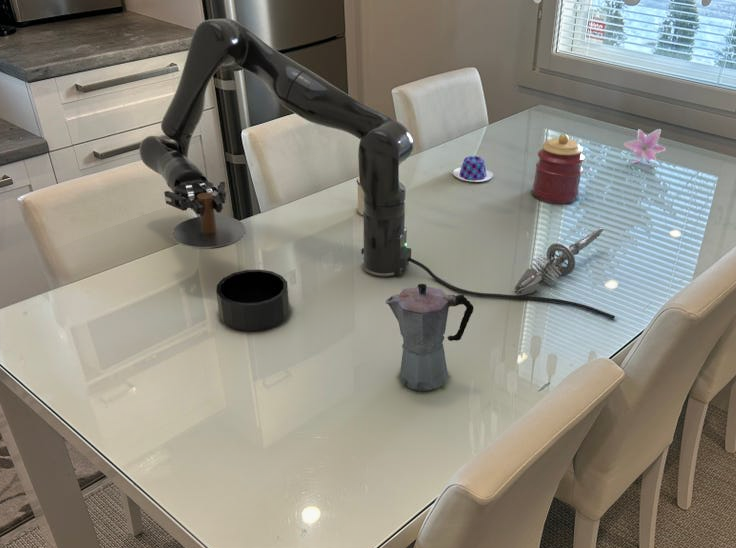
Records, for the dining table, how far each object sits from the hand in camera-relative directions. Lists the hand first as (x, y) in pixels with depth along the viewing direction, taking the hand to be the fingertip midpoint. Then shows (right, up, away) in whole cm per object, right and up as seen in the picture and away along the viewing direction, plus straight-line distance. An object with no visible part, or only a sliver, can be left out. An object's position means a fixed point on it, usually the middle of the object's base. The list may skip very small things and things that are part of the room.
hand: (210, 209), depth 150 cm
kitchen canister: (+81, +16, +59) cm, 101 cm away
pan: (+9, -21, +1) cm, 23 cm away
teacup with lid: (+31, +9, +45) cm, 56 cm away
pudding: (+58, +24, +68) cm, 92 cm away
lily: (+113, +33, +85) cm, 146 cm away
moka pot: (+44, -34, -13) cm, 58 cm away
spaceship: (+75, -11, +22) cm, 79 cm away
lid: (-2, -4, +6) cm, 7 cm away
